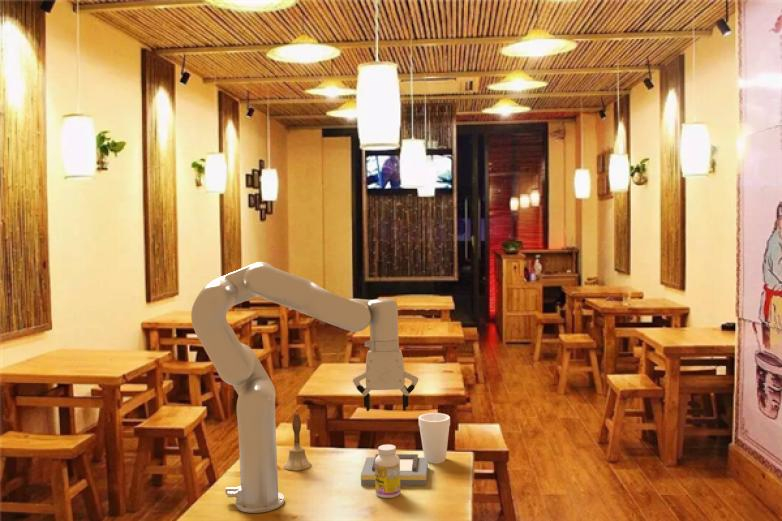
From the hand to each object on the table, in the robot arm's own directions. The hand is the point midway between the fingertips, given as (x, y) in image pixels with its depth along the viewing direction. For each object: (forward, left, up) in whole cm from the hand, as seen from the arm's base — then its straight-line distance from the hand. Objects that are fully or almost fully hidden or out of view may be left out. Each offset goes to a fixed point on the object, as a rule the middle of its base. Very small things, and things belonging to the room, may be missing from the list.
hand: (386, 409), depth 192 cm
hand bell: (-29, +21, -23) cm, 43 cm away
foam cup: (+12, +27, -23) cm, 37 cm away
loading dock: (+1, +13, -23) cm, 26 cm away
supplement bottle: (0, 0, -23) cm, 23 cm away
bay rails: (+1, +14, -20) cm, 25 cm away
